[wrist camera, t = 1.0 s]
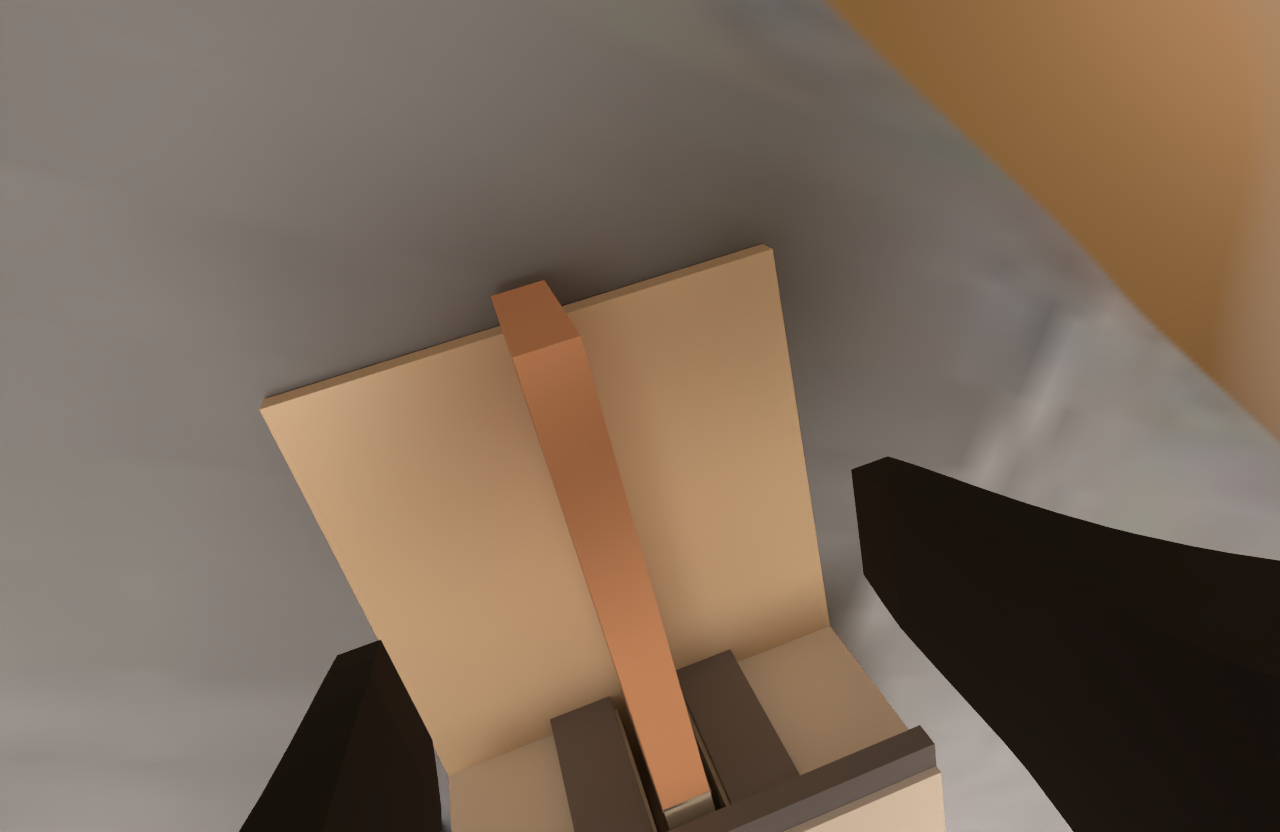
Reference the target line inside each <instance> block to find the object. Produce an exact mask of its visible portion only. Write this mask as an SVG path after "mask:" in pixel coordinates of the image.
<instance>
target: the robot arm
mask: <svg viewBox="0 0 1280 832" xmlns="http://www.w3.org/2000/svg"><path fill="white" fill-rule="evenodd" d="M851 471H852V479H853V488H854V496H855V505H856V513H857V521H858V530H859V538H860V547H861V555H862V564H863V572H864V576H865V577H866V579H867V580H868V582H869V583H870V585H871V586H872V587H873V589H874V590H875V592H876V593H877V595H878V596H879V598H880V599H881V601H882V602H883V604H884V605H885V607H886V608H887V609H888V611H889V612H890V614H891V615H892V616H893V618H894V619H895V621H896V622H897V623H898V625H899V626H900V628H901V629H902V630H903V631H904V632H905V633H906V634H907V636H908V637H909V638H910V639H911V640H912V641H913V642H914V644H915V645H916V646H917V647H918V648H919V649H920V650H921V651H922V652H923V654H924V655H925V656H926V657H927V658H928V659H929V660H930V661H931V662H932V664H933V665H934V666H935V667H936V668H937V669H938V670H939V671H940V672H941V674H942V675H943V676H944V677H945V678H946V679H947V680H948V681H949V682H950V683H951V684H952V686H953V687H954V688H955V689H956V690H957V691H958V692H959V693H960V694H961V695H962V697H963V698H964V699H965V700H966V701H967V702H968V703H969V704H970V705H971V706H972V708H973V709H974V710H975V711H976V712H977V713H978V714H979V715H980V716H981V717H982V719H983V720H984V721H985V722H986V723H987V724H988V725H989V726H990V727H991V728H992V729H993V731H994V732H995V733H996V734H997V735H998V736H999V737H1000V738H1001V739H1002V740H1003V742H1004V743H1005V744H1006V745H1007V746H1008V747H1009V749H1010V750H1011V751H1012V752H1013V753H1014V755H1015V756H1016V757H1017V758H1018V759H1019V761H1020V762H1021V763H1022V764H1023V765H1024V766H1025V768H1026V769H1027V770H1028V771H1029V773H1030V774H1031V775H1032V777H1033V778H1034V779H1035V781H1036V782H1037V783H1038V785H1039V786H1040V787H1041V789H1042V790H1043V791H1044V793H1045V794H1046V795H1047V797H1048V798H1049V799H1050V801H1051V802H1052V803H1053V805H1054V806H1055V807H1056V809H1057V810H1058V811H1059V813H1060V814H1061V815H1062V817H1063V818H1064V819H1065V821H1066V822H1067V823H1068V825H1069V826H1070V827H1071V829H1072V830H1073V831H1074V832H1280V561H1278V560H1271V559H1265V558H1258V557H1252V556H1245V555H1239V554H1232V553H1226V552H1221V551H1215V550H1210V549H1204V548H1199V547H1193V546H1188V545H1184V544H1179V543H1175V542H1170V541H1165V540H1161V539H1156V538H1152V537H1147V536H1142V535H1138V534H1133V533H1129V532H1125V531H1121V530H1117V529H1113V528H1109V527H1105V526H1102V525H1098V524H1095V523H1091V522H1088V521H1084V520H1080V519H1077V518H1073V517H1070V516H1066V515H1063V514H1059V513H1056V512H1053V511H1049V510H1046V509H1043V508H1040V507H1036V506H1033V505H1030V504H1027V503H1024V502H1021V501H1018V500H1015V499H1012V498H1009V497H1006V496H1003V495H1000V494H997V493H994V492H991V491H988V490H985V489H982V488H979V487H976V486H973V485H971V484H968V483H965V482H962V481H959V480H956V479H954V478H951V477H948V476H945V475H942V474H939V473H937V472H934V471H931V470H928V469H925V468H922V467H919V466H916V465H913V464H911V463H907V462H904V461H901V460H898V459H894V458H891V457H885V458H882V459H879V460H877V461H874V462H871V463H868V464H866V465H863V466H860V467H857V468H855V469H852V470H851ZM239 832H442V824H441V803H440V794H439V785H438V777H437V769H436V762H435V755H434V747H433V740H432V738H431V736H430V734H429V732H428V730H427V728H426V726H425V724H424V722H423V720H422V718H421V717H420V715H419V713H418V711H417V709H416V707H415V705H414V703H413V701H412V699H411V697H410V695H409V693H408V691H407V689H406V687H405V685H404V683H403V682H402V680H401V678H400V676H399V674H398V672H397V670H396V668H395V666H394V664H393V662H392V660H391V658H390V656H389V654H388V652H387V650H386V649H385V647H384V645H383V643H382V641H381V640H379V641H376V642H373V643H370V644H367V645H365V646H362V647H359V648H356V649H354V650H351V651H348V652H345V653H343V654H340V655H337V657H336V659H335V661H334V662H333V664H332V666H331V668H330V670H329V671H328V673H327V675H326V677H325V679H324V680H323V682H322V684H321V686H320V688H319V690H318V692H317V694H316V695H315V697H314V699H313V701H312V703H311V705H310V707H309V709H308V711H307V713H306V714H305V716H304V718H303V720H302V722H301V724H300V726H299V728H298V730H297V731H296V733H295V735H294V737H293V739H292V741H291V743H290V744H289V746H288V748H287V750H286V752H285V753H284V755H283V757H282V759H281V761H280V762H279V764H278V766H277V768H276V770H275V771H274V773H273V775H272V777H271V779H270V780H269V782H268V784H267V786H266V788H265V789H264V791H263V793H262V795H261V796H260V798H259V800H258V801H257V803H256V805H255V806H254V808H253V810H252V811H251V813H250V815H249V816H248V818H247V819H246V821H245V823H244V824H243V826H242V828H241V829H240V831H239Z"/></svg>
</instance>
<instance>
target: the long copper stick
mask: <svg viewBox="0 0 1280 832" xmlns="http://www.w3.org/2000/svg"><path fill="white" fill-rule="evenodd" d="M491 299H492V302H493V305H494V308H495V311H496V314H497V317H498V320H499V323H500V326H501V329H502V332H503V335H504V338H505V341H506V344H507V347H508V350H509V353H510V356H511V359H512V362H513V365H514V368H515V371H516V374H517V377H518V380H519V383H520V386H521V389H522V392H523V395H524V398H525V401H526V404H527V407H528V410H529V413H530V416H531V419H532V422H533V425H534V428H535V431H536V434H537V437H538V440H539V443H540V446H541V449H542V452H543V455H544V458H545V461H546V464H547V467H548V470H549V473H550V476H551V479H552V482H553V485H554V488H555V491H556V494H557V497H558V500H559V503H560V506H561V509H562V512H563V515H564V518H565V521H566V524H567V527H568V530H569V533H570V536H571V539H572V542H573V545H574V548H575V551H576V554H577V557H578V560H579V563H580V566H581V569H582V572H583V575H584V578H585V581H586V584H587V587H588V590H589V593H590V596H591V599H592V602H593V605H594V608H595V611H596V614H597V617H598V620H599V623H600V626H601V629H602V632H603V635H604V638H605V641H606V644H607V647H608V650H609V653H610V656H611V659H612V662H613V665H614V668H615V671H616V674H617V677H618V680H619V683H620V686H621V692H622V695H623V698H624V701H625V704H626V707H627V710H628V713H629V715H630V718H631V721H632V724H633V727H634V730H635V733H636V736H637V739H638V742H639V745H640V748H641V751H642V753H643V756H644V759H645V762H646V765H647V768H648V771H649V774H650V777H651V780H652V783H653V786H654V788H655V791H656V794H657V797H658V800H659V803H660V806H661V809H662V812H663V814H664V817H665V820H666V823H667V826H668V829H669V830H671V829H674V828H676V827H679V826H681V825H683V824H686V823H688V822H690V821H693V820H695V819H698V818H700V817H702V816H705V815H707V814H710V813H712V812H714V811H716V810H715V807H714V803H713V800H712V796H711V793H712V792H711V788H710V786H709V783H708V781H707V779H706V775H705V771H704V768H703V764H702V761H701V757H700V754H699V750H698V747H697V743H696V740H695V736H694V733H693V729H692V726H691V722H690V719H689V715H688V712H687V708H686V705H685V701H684V698H683V694H682V691H681V687H680V684H679V680H678V677H677V673H676V669H675V666H674V662H673V659H672V655H671V652H670V648H669V645H668V641H667V638H666V634H665V631H664V627H663V624H662V620H661V617H660V613H659V610H658V606H657V603H656V599H655V596H654V592H653V589H652V585H651V582H650V578H649V575H648V571H647V567H646V564H645V560H644V557H643V553H642V550H641V546H640V543H639V539H638V536H637V532H636V529H635V525H634V522H633V518H632V515H631V511H630V508H629V504H628V501H627V497H626V494H625V490H624V487H623V483H622V480H621V476H620V473H619V469H618V465H617V462H616V458H615V455H614V451H613V448H612V444H611V441H610V437H609V434H608V430H607V427H606V423H605V420H604V416H603V413H602V409H601V406H600V402H599V399H598V395H597V392H596V388H595V385H594V381H593V378H592V374H591V370H590V367H589V363H588V360H587V356H586V353H585V349H584V346H583V342H582V339H581V336H580V334H579V333H578V331H577V330H576V328H575V326H574V325H573V323H572V322H571V320H570V319H569V317H568V316H567V314H566V313H565V311H564V309H563V308H562V306H561V305H560V303H559V302H558V300H557V299H556V297H555V296H554V294H553V293H552V291H551V289H550V288H549V286H548V285H547V283H546V282H545V280H542V281H539V282H536V283H532V284H529V285H526V286H522V287H519V288H516V289H513V290H509V291H506V292H503V293H500V294H496V295H493V296H491Z"/></svg>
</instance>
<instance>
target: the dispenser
mask: <svg viewBox="0 0 1280 832" xmlns="http://www.w3.org/2000/svg"><path fill="white" fill-rule="evenodd" d="M562 308H563V309H564V311H565V313H566V314H567V316H568V317H569V319H570V320H571V322H572V323H573V325H574V326H575V328H576V330H577V331H578V333H579V334H580V336H581V339H582V342H583V346H584V349H585V353H586V356H587V360H588V363H589V367H590V370H591V374H592V378H593V381H594V385H595V388H596V392H597V395H598V399H599V402H600V406H601V409H602V413H603V416H604V420H605V423H606V427H607V430H608V434H609V437H610V441H611V444H612V448H613V451H614V455H615V458H616V462H617V465H618V469H619V473H620V476H621V480H622V483H623V487H624V490H625V494H626V497H627V501H628V504H629V508H630V511H631V515H632V518H633V522H634V525H635V529H636V532H637V536H638V539H639V543H640V546H641V550H642V553H643V557H644V560H645V564H646V567H647V571H648V575H649V578H650V582H651V585H652V589H653V592H654V596H655V599H656V603H657V606H658V610H659V613H660V617H661V620H662V624H663V627H664V631H665V634H666V638H667V641H668V645H669V648H670V652H671V655H672V659H673V662H674V666H675V669H676V673H677V677H678V680H679V684H680V687H681V691H682V694H683V698H684V701H685V705H686V708H687V712H688V715H689V719H690V722H691V726H692V729H693V733H694V736H695V740H696V743H697V747H698V750H699V754H700V757H701V761H702V764H703V768H704V771H705V775H706V779H707V781H708V783H709V786H710V788H711V792H712V793H711V796H712V800H713V803H714V807H715V810H716V811H714V812H712V813H710V814H707V815H705V816H702V817H700V818H698V819H695V820H693V821H690V822H688V823H686V824H683V825H681V826H679V827H676V828H674V829H671V830H669V829H668V826H667V823H666V820H665V817H664V814H663V812H662V809H661V806H660V803H659V800H658V797H657V794H656V791H655V788H654V786H653V783H652V780H651V777H650V774H649V771H648V768H647V765H646V762H645V759H644V756H643V753H642V751H641V748H640V745H639V742H638V739H637V736H636V733H635V730H634V727H633V724H632V721H631V718H630V715H629V713H628V710H627V707H626V704H625V701H624V698H623V695H622V692H621V686H620V683H619V680H618V677H617V674H616V671H615V668H614V665H613V662H612V659H611V656H610V653H609V650H608V647H607V644H606V641H605V638H604V635H603V632H602V629H601V626H600V623H599V620H598V617H597V614H596V611H595V608H594V605H593V602H592V599H591V596H590V593H589V590H588V587H587V584H586V581H585V578H584V575H583V572H582V569H581V566H580V563H579V560H578V557H577V554H576V551H575V548H574V545H573V542H572V539H571V536H570V533H569V530H568V527H567V524H566V521H565V518H564V515H563V512H562V509H561V506H560V503H559V500H558V497H557V494H556V491H555V488H554V485H553V482H552V479H551V476H550V473H549V470H548V467H547V464H546V461H545V458H544V455H543V452H542V449H541V446H540V443H539V440H538V437H537V434H536V431H535V428H534V425H533V422H532V419H531V416H530V413H529V410H528V407H527V404H526V401H525V398H524V395H523V392H522V389H521V386H520V383H519V380H518V377H517V374H516V371H515V368H514V365H513V362H512V359H511V356H510V353H509V350H508V347H507V344H506V341H505V338H504V335H503V332H502V329H501V326H497V327H494V328H491V329H488V330H484V331H481V332H478V333H475V334H472V335H468V336H465V337H462V338H459V339H455V340H452V341H449V342H446V343H443V344H439V345H436V346H433V347H430V348H427V349H423V350H420V351H417V352H414V353H411V354H407V355H404V356H401V357H398V358H395V359H391V360H388V361H385V362H382V363H378V364H375V365H372V366H369V367H366V368H362V369H359V370H356V371H353V372H350V373H346V374H343V375H340V376H337V377H334V378H330V379H327V380H324V381H321V382H317V383H314V384H311V385H308V386H305V387H301V388H298V389H295V390H292V391H289V392H285V393H282V394H279V395H276V396H273V397H269V398H266V399H264V401H263V403H262V405H261V407H260V412H261V413H262V415H263V417H264V419H265V421H266V423H267V425H268V427H269V429H270V431H271V433H272V435H273V437H274V439H275V441H276V443H277V444H278V446H279V448H280V450H281V452H282V454H283V456H284V458H285V460H286V462H287V464H288V466H289V468H290V470H291V472H292V474H293V476H294V477H295V479H296V481H297V483H298V485H299V487H300V489H301V491H302V493H303V495H304V497H305V499H306V501H307V503H308V505H309V507H310V508H311V510H312V512H313V514H314V516H315V518H316V520H317V522H318V524H319V526H320V528H321V530H322V532H323V534H324V536H325V538H326V539H327V541H328V543H329V545H330V547H331V549H332V551H333V553H334V555H335V557H336V559H337V561H338V563H339V565H340V567H341V569H342V570H343V572H344V574H345V576H346V578H347V580H348V582H349V584H350V586H351V588H352V590H353V592H354V594H355V596H356V598H357V600H358V601H359V603H360V605H361V607H362V609H363V611H364V613H365V615H366V617H367V619H368V621H369V623H370V625H371V627H372V629H373V631H374V632H375V634H376V636H377V638H378V640H381V641H382V643H383V645H384V647H385V649H386V650H387V652H388V654H389V656H390V658H391V660H392V662H393V664H394V666H395V668H396V670H397V672H398V674H399V676H400V678H401V680H402V682H403V683H404V685H405V687H406V689H407V691H408V693H409V695H410V697H411V699H412V701H413V703H414V705H415V707H416V709H417V711H418V713H419V715H420V717H421V718H422V720H423V722H424V724H425V726H426V728H427V730H428V732H429V734H430V736H431V738H432V740H433V747H434V749H435V751H436V753H437V755H438V757H439V758H440V760H441V762H442V764H443V766H444V768H445V770H446V772H447V774H448V779H449V797H450V815H451V832H945V819H944V805H943V791H942V777H941V772H940V770H939V769H938V768H937V766H936V757H935V744H934V743H933V741H932V740H931V739H930V738H929V736H928V735H927V734H926V732H925V731H924V730H923V729H922V727H921V726H920V725H919V726H917V727H914V728H912V729H910V730H909V729H908V728H907V727H906V725H905V724H904V723H903V722H902V720H901V719H900V718H899V716H898V715H897V714H896V712H895V711H894V710H893V708H892V707H891V706H890V704H889V703H888V702H887V700H886V699H885V698H884V696H883V695H882V694H881V693H880V691H879V690H878V689H877V687H876V686H875V685H874V683H873V682H872V681H871V679H870V678H869V677H868V675H867V674H866V673H865V671H864V670H863V669H862V667H861V666H860V665H859V664H858V662H857V661H856V660H855V658H854V657H853V656H852V654H851V653H850V652H849V650H848V649H847V648H846V646H845V645H844V644H843V642H842V641H841V640H840V639H839V637H838V636H837V635H836V633H835V632H834V631H833V629H832V628H831V627H830V623H829V616H828V610H827V603H826V597H825V590H824V584H823V577H822V570H821V564H820V557H819V551H818V544H817V538H816V531H815V524H814V518H813V511H812V505H811V498H810V491H809V485H808V478H807V472H806V465H805V459H804V452H803V445H802V439H801V432H800V426H799V419H798V412H797V406H796V399H795V393H794V386H793V380H792V373H791V366H790V360H789V353H788V347H787V340H786V333H785V327H784V320H783V314H782V307H781V301H780V294H779V287H778V281H777V274H776V268H775V261H774V255H773V249H772V248H770V247H768V246H766V245H764V244H760V245H757V246H754V247H751V248H748V249H744V250H741V251H738V252H735V253H732V254H728V255H725V256H722V257H719V258H715V259H712V260H709V261H706V262H703V263H699V264H696V265H693V266H690V267H687V268H683V269H680V270H677V271H674V272H671V273H667V274H664V275H661V276H658V277H654V278H651V279H648V280H645V281H642V282H638V283H635V284H632V285H629V286H626V287H622V288H619V289H616V290H613V291H610V292H606V293H603V294H600V295H597V296H594V297H590V298H587V299H584V300H581V301H577V302H574V303H571V304H568V305H565V306H562Z"/></svg>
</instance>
